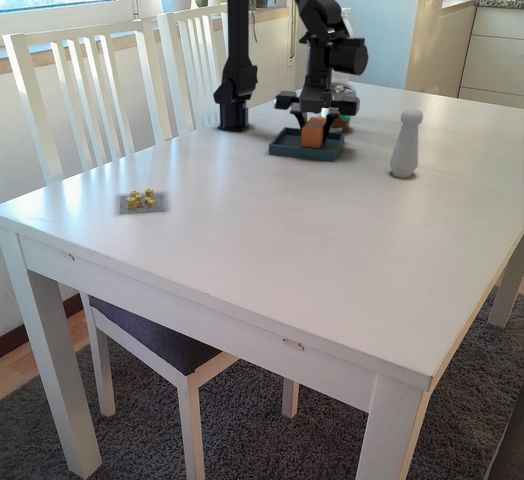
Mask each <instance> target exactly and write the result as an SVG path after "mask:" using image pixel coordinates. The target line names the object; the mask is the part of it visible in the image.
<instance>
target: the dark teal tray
mask: <svg viewBox="0 0 524 480" xmlns="http://www.w3.org/2000/svg"><path fill="white" fill-rule="evenodd" d="M301 138H302V133H301V129H300V127H299V128H298V127H287V126H284V127H283V128H282V129H281V130H280V131H279V132H278V134H277V135H276V136H275V137H274V138H273V139H272V140H271V142H270V143H269V144H268V155H269V156H271V155H272V156H279V157H280V156H281V157H290V158H298V159H307V160H314V161H323V162H333V163H334V162H335V160H336V158H337V156H338V154H339V152H340V151H341V149H342V148H343V145H344V144H345V139H346V133H338V132H329V134H328V136H327V140H326V142H325V143H324V145H323V146H322V148H321V149H311V148H302V147H301Z"/></svg>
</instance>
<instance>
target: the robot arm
mask: <svg viewBox="0 0 524 480" xmlns="http://www.w3.org/2000/svg"><path fill="white" fill-rule="evenodd" d="M293 1H294V3H295V4H296V7H297V13H298V16H299V18H300V20H301V22H302V24H303V25H304V27H305V29H306V31H305V33H304V35H303V36H301V37H300V38H299V40H298V43H299V44H301V45H307V47H306V65H305V66H306V67H305V76H304V84H303V86H302V89H301V92H300V94H299V96H298V94H297V91H292V90H281V91H280V92H279V93H278V94H276V96H275V97H274V101H273V105H274V106H273V108H274V110H283V111H287V110H289V108H290V110H289V114H290V115H294V117H295V118H296V120H297V123H298V125H299V129H301V133H302V128H303V127H304V125H305V124H306V123H307V122H308V113H313V114H314V115H318V114H321V113H322V108H329V112H328V114H327V115H326V123H325V129H324V134H323V143H325V141H326V139H327V136H328V134H329V131H330V129H331V126H332V124H333V122H334V120H335V118H340V116H341V115H346V116H351V117H355V116H357V114H358V112H359V111H360V106H361V100H360V97H359V96H356V97H353V96H343V97H342V98H341V99H340V100H333V91H332V89H331V81H332V69H333V70H334V71H335V72H340V73H346V74H349V75H352V76H358V77H360V76H362V75H363V73H364V72H365V71H366V68H367V66H368V64H369V57H370V56H369V50H368V47H367V45H366V44H365V43H366V38H365V37H359V36H358V37H354V36H353V37H350V34H349V32H348V30H347V27H346V25H345V23H344V21H343V18H342V16H341V12H342V7H341V5H340V4H339V2H338V1H336V0H293ZM226 15H227V16H226V19H227V58H226V61H225V63H224V66H223V68H222V72H221V82H220V85H219V86H218V87H217V89H216V90H214V92H213V94H212V98H213V100H214V104H217V105H219V125H218V126H217V129H218V130H227V131H236V132H242V131H244V129H246V127H248V126H249V124H250V123H249V107H247V101H250V100H252V99H251V98H252V97H253V93H254V91H255V90H256V87H257V84H259V80H258V65H257V64H253V62H252V60H251V59H250V36H249V35H250V22H249V21H250V0H226ZM333 30H334V31H335V32H331V31H333ZM329 32H330V33H329Z"/></svg>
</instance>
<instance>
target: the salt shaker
mask: <svg viewBox="0 0 524 480" xmlns="http://www.w3.org/2000/svg"><path fill="white" fill-rule="evenodd" d="M423 119H424V113H423V112H422V110H420V109H417V108H406V109H404V110H403V111H402V112H401V114H400V122H401V123H402V125H401V127H400V131H399V134H398V136H397V140H396V142H395V146H394V148H393V151H392V153H391V154H392V155H391V157H390V161H389V166H390V169H391V174H392V175H393V177H397V178H402V179H403V178H405V179H406V178H411V176H412V175H413V174H414V172H415V171H416V169H418V167H419V166H418V165H419V125H420V124H422V122H423Z"/></svg>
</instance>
